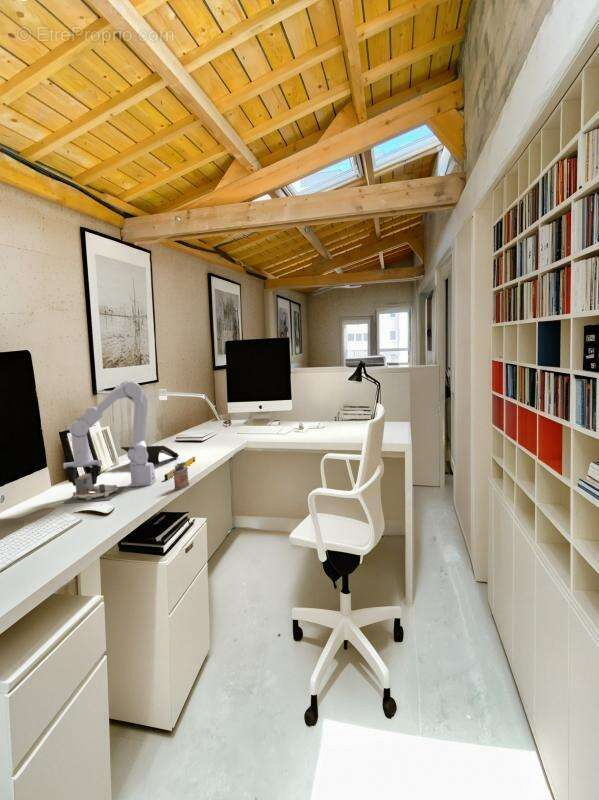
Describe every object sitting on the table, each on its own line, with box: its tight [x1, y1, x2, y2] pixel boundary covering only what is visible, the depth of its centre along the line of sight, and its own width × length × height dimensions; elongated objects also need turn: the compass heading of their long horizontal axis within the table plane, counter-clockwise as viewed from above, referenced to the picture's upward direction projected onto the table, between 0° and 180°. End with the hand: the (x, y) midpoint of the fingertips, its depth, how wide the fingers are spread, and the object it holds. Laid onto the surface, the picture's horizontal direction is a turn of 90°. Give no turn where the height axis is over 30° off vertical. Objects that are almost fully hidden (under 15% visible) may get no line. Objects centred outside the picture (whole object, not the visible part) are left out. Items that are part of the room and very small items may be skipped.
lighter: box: [173, 461, 190, 491], centre depth 186 cm, size 8×3×10 cm, turn 160°
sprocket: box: [72, 483, 118, 500], centre depth 183 cm, size 17×17×4 cm
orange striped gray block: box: [75, 473, 95, 494], centre depth 183 cm, size 4×8×6 cm, turn 1°
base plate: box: [62, 485, 128, 505], centre depth 184 cm, size 18×18×1 cm
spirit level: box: [163, 456, 196, 481], centre depth 215 cm, size 33×1×3 cm, turn 172°
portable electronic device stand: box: [120, 445, 180, 465], centre depth 236 cm, size 23×23×9 cm
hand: (85, 484), depth 183 cm, fingers open, 7 cm apart
